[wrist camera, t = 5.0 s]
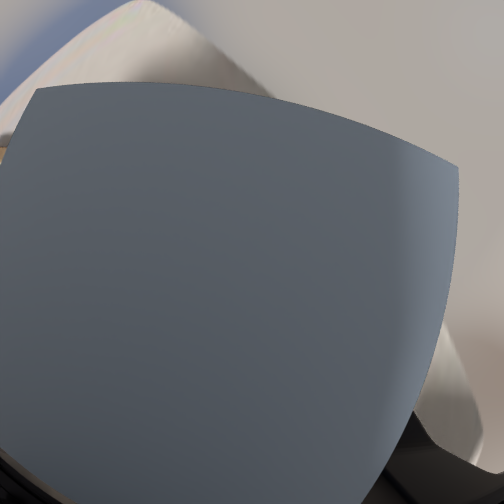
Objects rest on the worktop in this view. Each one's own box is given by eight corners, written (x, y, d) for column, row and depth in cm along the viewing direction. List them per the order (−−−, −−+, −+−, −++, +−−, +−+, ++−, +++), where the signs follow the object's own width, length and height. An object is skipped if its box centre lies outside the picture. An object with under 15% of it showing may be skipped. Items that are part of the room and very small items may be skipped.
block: (267, 347, 15) (313, 560, 2) (179, 323, 15) (-16, 432, 2) (291, 258, 15) (458, 166, 2) (202, 235, 15) (36, 89, 2)
